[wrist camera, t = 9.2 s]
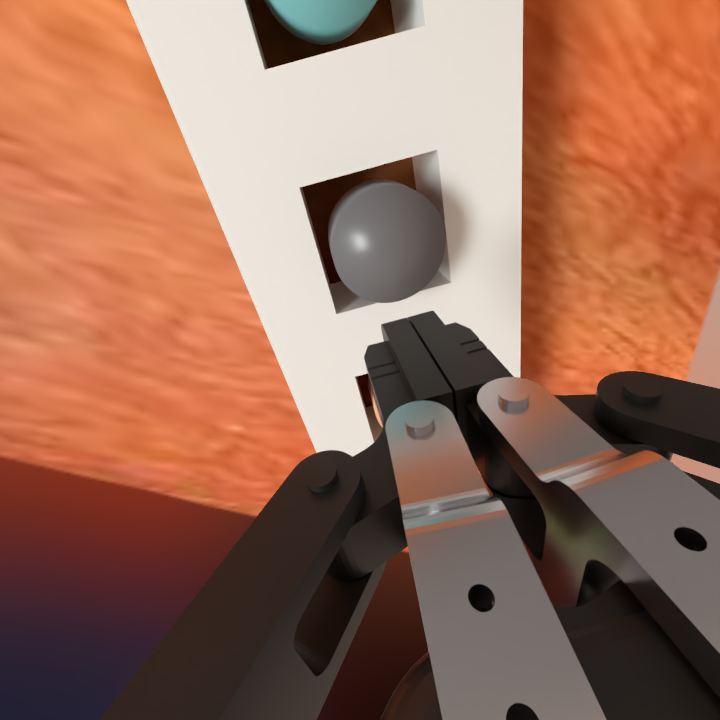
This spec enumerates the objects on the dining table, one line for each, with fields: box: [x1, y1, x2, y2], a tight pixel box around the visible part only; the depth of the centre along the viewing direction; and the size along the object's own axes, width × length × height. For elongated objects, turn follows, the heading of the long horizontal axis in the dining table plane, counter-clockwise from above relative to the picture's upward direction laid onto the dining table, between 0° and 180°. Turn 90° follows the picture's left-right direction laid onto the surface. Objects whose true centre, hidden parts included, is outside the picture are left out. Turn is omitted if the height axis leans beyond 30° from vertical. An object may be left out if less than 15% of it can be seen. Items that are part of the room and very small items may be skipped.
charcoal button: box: [328, 178, 446, 303], centre depth 15 cm, size 4×4×2 cm
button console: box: [126, 0, 523, 457], centre depth 17 cm, size 12×26×4 cm, turn 13°
